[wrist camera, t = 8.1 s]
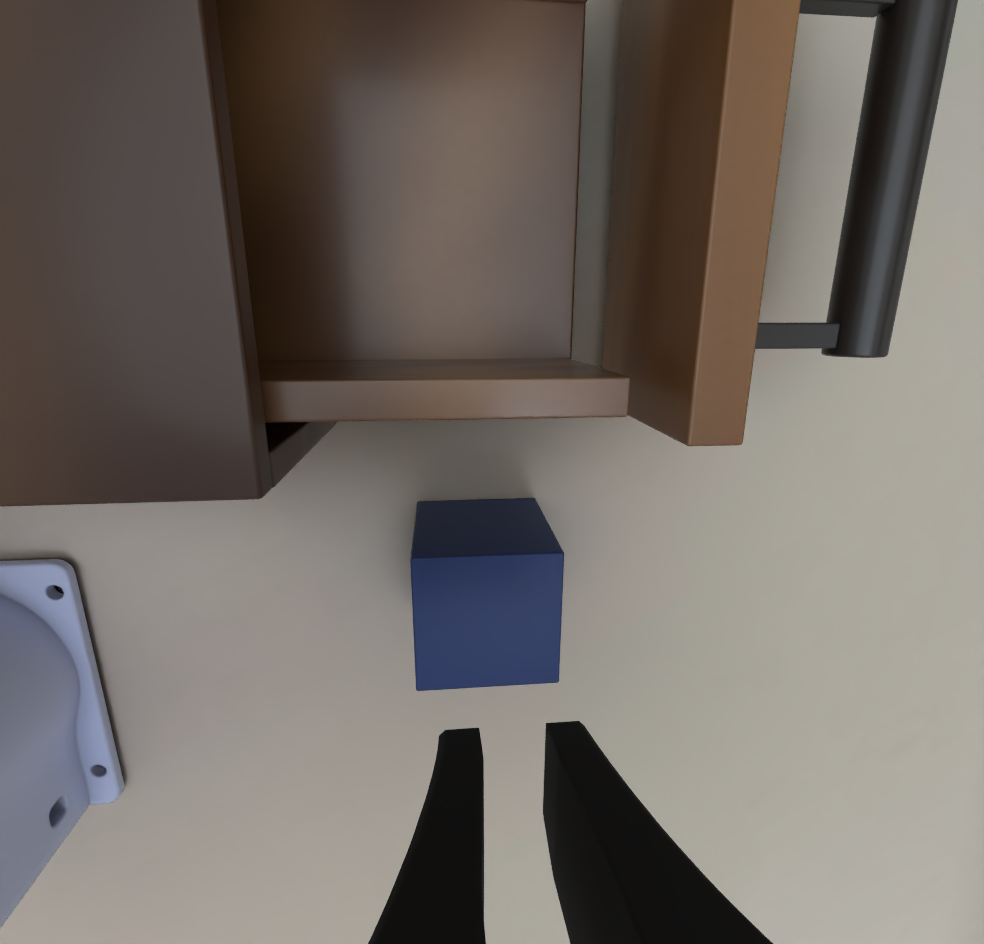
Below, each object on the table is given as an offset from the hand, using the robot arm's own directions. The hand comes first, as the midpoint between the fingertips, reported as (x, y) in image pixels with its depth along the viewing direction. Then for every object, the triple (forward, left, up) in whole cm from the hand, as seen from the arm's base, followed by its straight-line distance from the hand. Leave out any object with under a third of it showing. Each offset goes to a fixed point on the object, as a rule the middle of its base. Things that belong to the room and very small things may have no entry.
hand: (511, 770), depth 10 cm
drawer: (+11, -1, -9) cm, 14 cm away
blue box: (0, 0, -9) cm, 9 cm away
